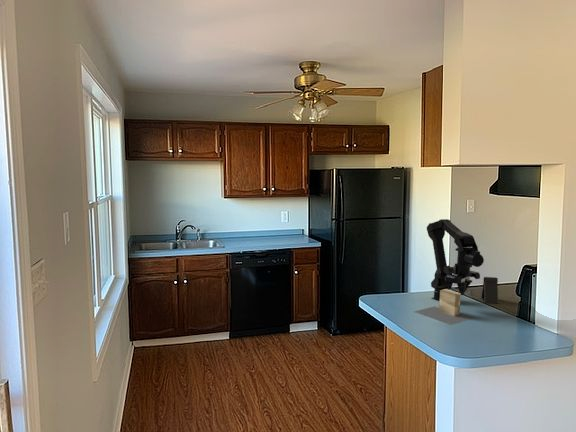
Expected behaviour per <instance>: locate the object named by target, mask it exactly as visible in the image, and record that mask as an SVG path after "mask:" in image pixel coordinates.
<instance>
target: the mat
mask: <svg viewBox="0 0 576 432" xmlns="http://www.w3.org/2000/svg"><path fill="white" fill-rule="evenodd" d="M413 313H416V314H419V315H422V316H423V317H427V318H430V319H433V320H436V321H439V322H442V323H444V324H448V325H450V326H452V325H455V324H460V323H462V322H464V321H468V320H472V317H469V316H466V315H463V314H461V313H460V314H459V315H457V316H451V315H448V314H445V313H442V312H439V306H435V305H434V306H429V307H427V308H422V309H418V310H415V311H413Z"/></svg>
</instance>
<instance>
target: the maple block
mask: <svg viewBox="0 0 576 432" xmlns="http://www.w3.org/2000/svg"><path fill="white" fill-rule="evenodd" d="M461 297H462V295H461V293H460V292H459V291H454V290H451V289H449V288H448V289H443V290H440V301H438V302H439V306H438V308H439V312H442V313H445V314H448V315H451V316H457V315H459V314H460V315H461V313H460V311H461Z"/></svg>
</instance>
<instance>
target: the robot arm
mask: <svg viewBox="0 0 576 432" xmlns="http://www.w3.org/2000/svg"><path fill="white" fill-rule="evenodd" d="M426 231H427V235H428V237H429V238H430V240H431V241H432V246H433V252H434V253H433V254H434V260H435V266H436V271H435V272H434V278H433V279H432V281H431V282H430V286H431V288H433V289H434V291H433V297H431V300H435V301H438V302H440V290H443V289H448V290H451V289H452V287H453V284H456V285H457V288H458V293H461V296H464V295H465V293H466V291H467V290H468V288H469V286H470V285H471V283H473V280H471V278H474V279H475V280H479V279H481V274H480V273H479V272H478V271H473V270H471V268H472V267H475V268H479V267H481V266H482V265H483V264H484V263H485V262H484V260H485V259H484V257H483V254H481V251H479V248H478V245H477V243H476V240H475V238H474V236H473V235H471V234H470V233H468V232H464V231H462V230H461V229H460V228H458V227H457V226H456V225H455V224H454V223H453V222H452V221H451V219H447V218H442V219H439V220H437V221H433V222H429V223H428V224H427V226H426ZM446 233H447V234H448V235H449V236H450V237H452V239H454V241H453V242H454V244H455V245H456V246H457V248H455V251H456V252H457V258H456V262H455V263H454V265H453V266H450V265H447V258H446V251H445V246H444V245H445V244H444V237H445V235H446Z"/></svg>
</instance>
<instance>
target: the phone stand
mask: <svg viewBox="0 0 576 432" xmlns="http://www.w3.org/2000/svg"><path fill="white" fill-rule="evenodd" d="M498 280H499V278H498V277H491V276H484V277H483V283H482V288H481V294H480V299H481V300H482V301H483V302H484V304H499V295H498V294H499V293H498V289H499V288H498V286H499V285H498Z"/></svg>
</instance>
